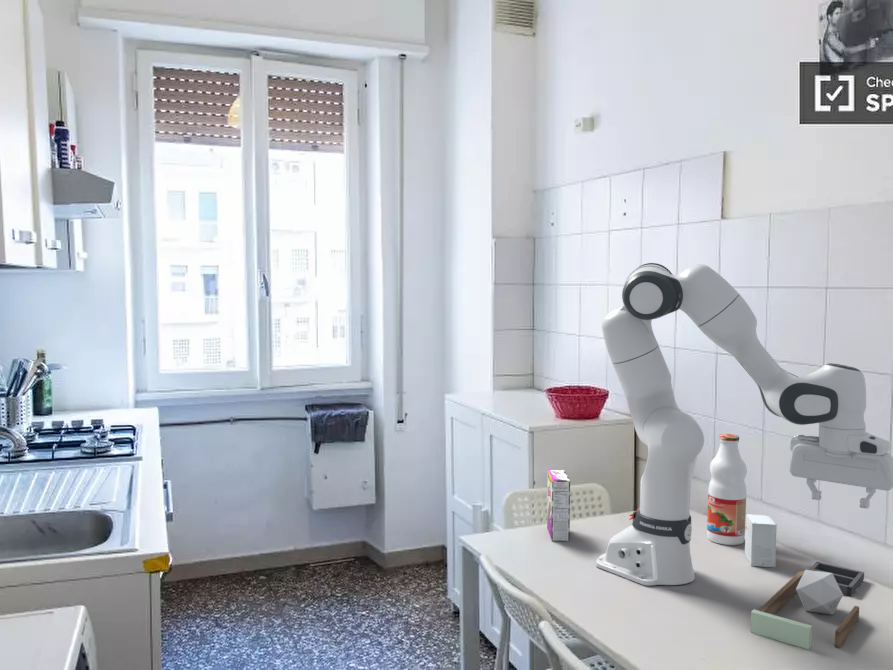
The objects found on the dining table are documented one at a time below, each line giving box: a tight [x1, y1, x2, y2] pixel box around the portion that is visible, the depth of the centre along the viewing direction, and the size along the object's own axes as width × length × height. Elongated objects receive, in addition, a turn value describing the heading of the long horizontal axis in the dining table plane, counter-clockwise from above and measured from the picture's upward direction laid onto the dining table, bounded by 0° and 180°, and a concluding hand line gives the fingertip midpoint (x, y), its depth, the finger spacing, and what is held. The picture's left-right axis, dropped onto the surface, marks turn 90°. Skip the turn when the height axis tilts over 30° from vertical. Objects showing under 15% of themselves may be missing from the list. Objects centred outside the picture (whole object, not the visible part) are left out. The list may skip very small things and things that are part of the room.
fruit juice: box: [706, 433, 747, 546], centre depth 197 cm, size 9×9×28 cm
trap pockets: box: [808, 561, 865, 598], centre depth 169 cm, size 10×12×2 cm
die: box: [796, 569, 844, 615], centre depth 154 cm, size 8×9×10 cm
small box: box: [744, 513, 777, 568], centre depth 182 cm, size 8×6×10 cm
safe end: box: [749, 609, 813, 650], centre depth 141 cm, size 10×2×4 cm, turn 49°
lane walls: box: [757, 570, 860, 649], centre depth 152 cm, size 15×32×3 cm, turn 139°
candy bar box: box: [546, 469, 571, 542], centre depth 199 cm, size 11×5×16 cm, turn 179°
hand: (840, 503), depth 160 cm, fingers open, 8 cm apart
